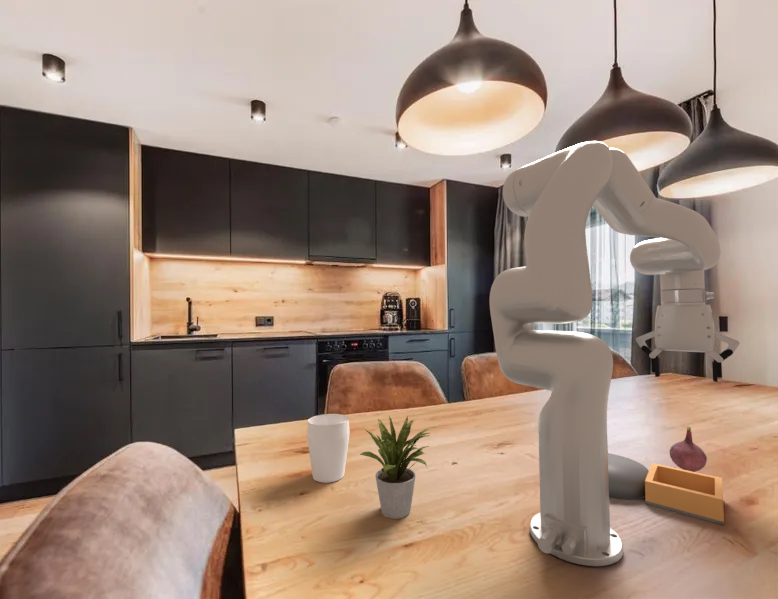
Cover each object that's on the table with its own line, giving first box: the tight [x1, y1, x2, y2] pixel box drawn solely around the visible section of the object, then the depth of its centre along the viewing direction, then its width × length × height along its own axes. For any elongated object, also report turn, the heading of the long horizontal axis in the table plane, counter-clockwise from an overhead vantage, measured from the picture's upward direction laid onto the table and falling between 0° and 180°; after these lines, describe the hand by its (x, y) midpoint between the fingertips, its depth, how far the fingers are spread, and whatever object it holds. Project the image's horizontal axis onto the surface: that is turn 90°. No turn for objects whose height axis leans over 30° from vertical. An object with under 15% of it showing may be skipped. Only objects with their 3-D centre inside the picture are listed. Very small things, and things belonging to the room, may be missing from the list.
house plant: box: [359, 415, 436, 520], centre depth 64 cm, size 14×14×16 cm
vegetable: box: [669, 426, 708, 472], centre depth 79 cm, size 6×6×10 cm
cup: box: [306, 413, 351, 484], centre depth 79 cm, size 9×9×12 cm
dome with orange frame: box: [608, 452, 725, 526], centre depth 72 cm, size 14×24×4 cm, turn 49°
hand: (685, 378), depth 79 cm, fingers open, 9 cm apart
